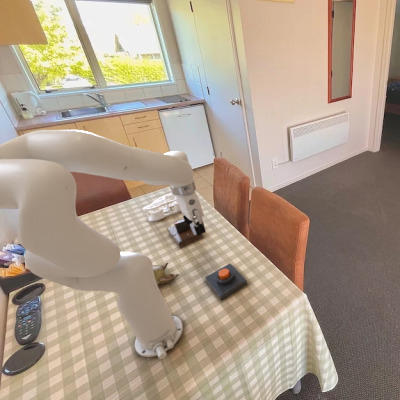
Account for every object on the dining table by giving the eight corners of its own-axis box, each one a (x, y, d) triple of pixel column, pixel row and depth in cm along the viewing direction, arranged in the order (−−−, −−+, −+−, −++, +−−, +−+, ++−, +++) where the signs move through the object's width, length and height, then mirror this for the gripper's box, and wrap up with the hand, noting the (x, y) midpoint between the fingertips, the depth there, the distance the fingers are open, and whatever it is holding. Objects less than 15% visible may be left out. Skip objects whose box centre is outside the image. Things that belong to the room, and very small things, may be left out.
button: (231, 275, 95) (230, 272, 94) (222, 281, 93) (221, 277, 92) (226, 270, 97) (226, 267, 96) (217, 275, 95) (216, 272, 94)
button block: (247, 284, 96) (245, 276, 94) (221, 300, 90) (218, 292, 88) (231, 267, 103) (229, 259, 101) (206, 281, 97) (203, 273, 95)
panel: (203, 237, 120) (201, 232, 118) (180, 248, 114) (178, 242, 112) (191, 224, 128) (189, 219, 127) (169, 233, 122) (167, 228, 121)
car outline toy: (152, 225, 128) (146, 212, 124) (144, 216, 135) (139, 204, 131) (192, 208, 141) (188, 196, 137) (183, 201, 147) (179, 190, 143)
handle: (189, 226, 122) (186, 217, 119) (191, 228, 120) (188, 219, 118) (177, 232, 118) (173, 222, 116) (178, 233, 117) (175, 224, 114)
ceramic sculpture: (117, 271, 90) (163, 250, 100) (125, 289, 94) (168, 267, 105) (128, 287, 84) (176, 263, 95) (137, 305, 88) (181, 280, 99)
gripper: (205, 191, 88) (216, 233, 96) (184, 176, 98) (195, 215, 107) (182, 200, 83) (195, 243, 91) (162, 183, 94) (176, 223, 102)
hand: (195, 228), depth 99 cm, fingers open, 9 cm apart
